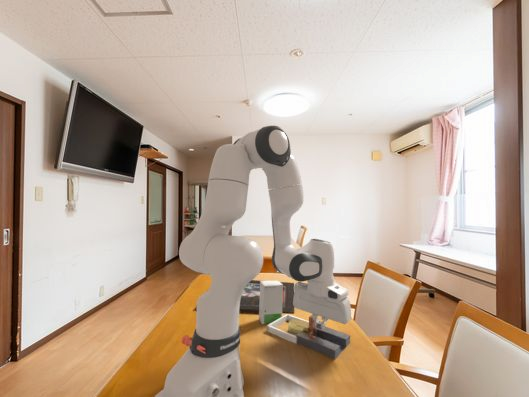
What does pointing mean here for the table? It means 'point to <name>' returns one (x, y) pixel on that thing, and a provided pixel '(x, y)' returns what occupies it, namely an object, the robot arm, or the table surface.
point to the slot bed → (325, 341)
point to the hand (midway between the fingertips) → (319, 328)
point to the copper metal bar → (312, 326)
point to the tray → (280, 333)
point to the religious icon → (252, 298)
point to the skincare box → (270, 301)
